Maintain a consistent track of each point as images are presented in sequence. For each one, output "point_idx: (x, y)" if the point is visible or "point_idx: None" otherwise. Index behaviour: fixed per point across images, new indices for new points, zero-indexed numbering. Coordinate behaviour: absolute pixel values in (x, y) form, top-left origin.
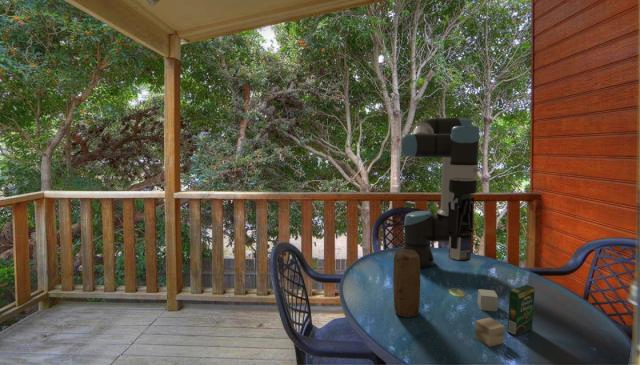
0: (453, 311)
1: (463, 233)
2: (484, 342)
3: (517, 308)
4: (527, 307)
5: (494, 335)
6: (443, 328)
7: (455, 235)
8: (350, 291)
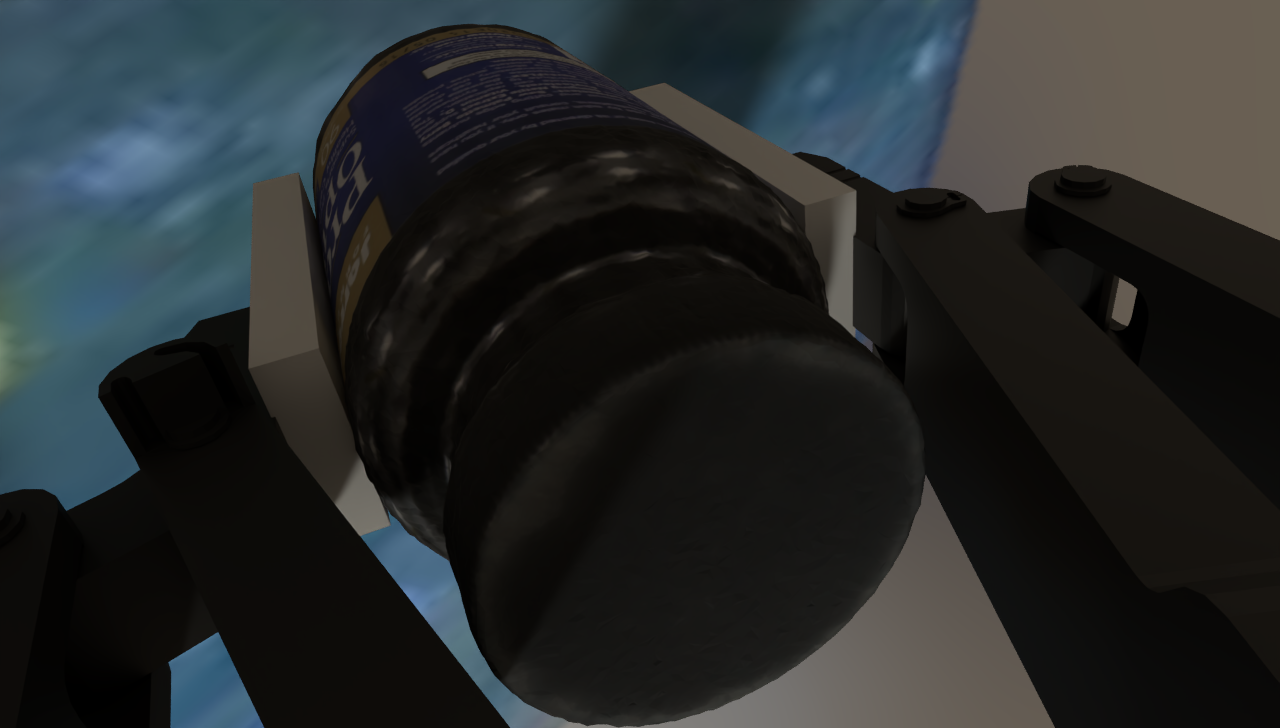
0: (258, 140)
1: (772, 236)
2: None
3: None
4: None
5: None
6: (543, 17)
7: (1112, 176)
8: None
